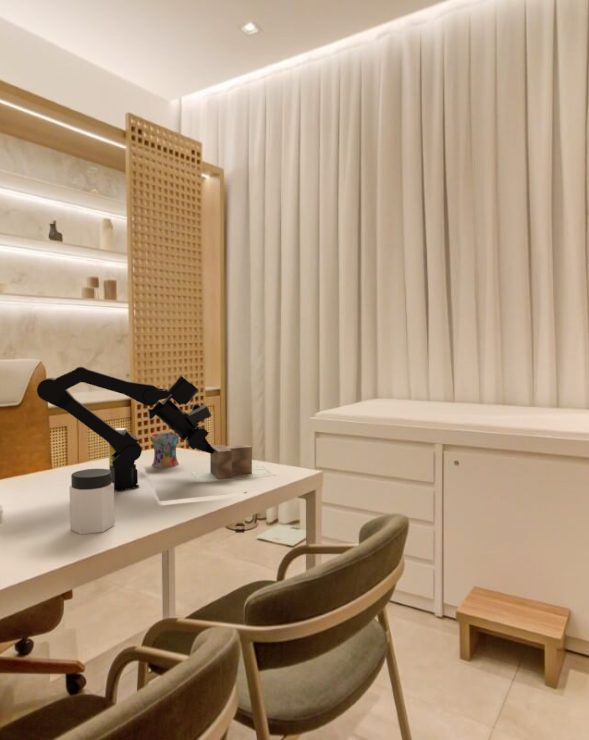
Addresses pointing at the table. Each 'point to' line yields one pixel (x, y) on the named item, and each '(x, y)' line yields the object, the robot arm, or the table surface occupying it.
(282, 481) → the table surface
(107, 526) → the jar
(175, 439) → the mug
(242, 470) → the t block
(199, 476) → the board
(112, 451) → the supplement bottle
